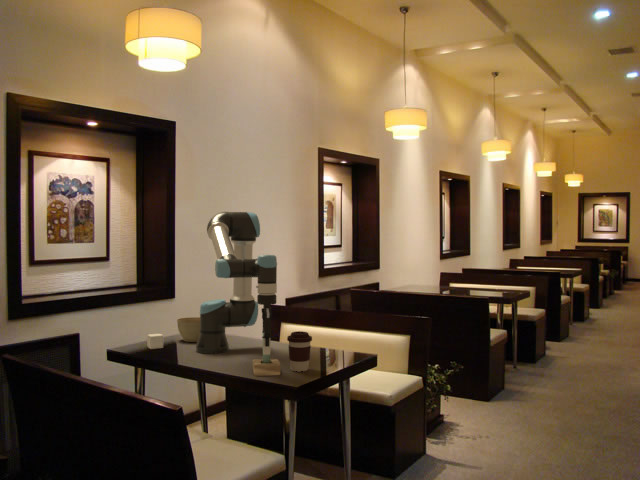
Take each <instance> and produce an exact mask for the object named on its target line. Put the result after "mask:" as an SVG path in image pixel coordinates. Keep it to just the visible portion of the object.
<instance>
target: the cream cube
mask: <svg viewBox="0 0 640 480" xmlns="http://www.w3.org/2000/svg"><path fill="white" fill-rule="evenodd" d="M146 340H147V343H146V344H147V345H146V346H147V348H148V349H150V350H156V349H163V348H164V335H163V334H161V333H150V334H147V336H146Z"/></svg>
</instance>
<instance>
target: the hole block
mask: <svg viewBox="0 0 640 480" xmlns="http://www.w3.org/2000/svg"><path fill="white" fill-rule="evenodd" d="M252 371H253V376H254V377H255V376H256V377H257V376H261V377H262V376H280V375H281V363H280V360H279V359H278V358H270V363H263V358H262V359H261V358H260V359H257V358H256V359H252Z"/></svg>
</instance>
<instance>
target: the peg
mask: <svg viewBox="0 0 640 480" xmlns="http://www.w3.org/2000/svg"><path fill="white" fill-rule="evenodd" d="M262 337H264V332H263V333H262ZM262 359H263V363H270V359H271V354H270V355H263V354H262Z"/></svg>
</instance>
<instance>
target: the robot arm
mask: <svg viewBox="0 0 640 480" xmlns="http://www.w3.org/2000/svg"><path fill="white" fill-rule="evenodd" d="M206 232H207V237H208V238H209V239H210V240H211V241H212V245H213V247H214V248H213V249H214V251H215V254H216V258H217V260H216V261H215V264H214V271H215V276H216V277H217V278H220V279H233V289H232V291H233V292H232V295H231V296H230V298H229V302H228V301H226V299H217V298H216V299H211V300H207V301H203V302H202V303H201V304H200V306H199V307H200V308H199V317H200V336H199V339H198V341H197V342H196V345H195V352H197V353H200V354H205V355H206V354H209V355H211V354H222V353H225V352H226V353H227V352H228V351H230V344H229V341H228V338H227V336H226V329H227V328H236V327H237V328H238V327H239V328H240V327H242V328H247V327H250V326H251V327H252V326H254V325H255V324H256V322H257V320H258V316H259V306H260V305H263V308H261V319H262V334H263V332H264V337H263V336H262V337H261V338H262V356H263V355H270V356H271V337H272V318H273V317H272V316H273V308H272V307H271V305H272V306H273V305H277V293H278V292H277V291H278V285H277V277H278V276H277V274H278V273H277V269H278V268H277V266H278V262H277V256H276V255H274V254H260V255H258V256H257V258H253V248H254V247H253V246H254V244H255V243H256V241H257V238H258V237H260V235H261V224H260V220H259V217H258V215H257V213H254V212H249V211H221V212H218V213H216V214H215V215H213V217H212V218H210V219H209V221H208V223H207V225H206ZM232 244H233V245H232ZM253 278H257V285H256V286H255V288H256V289H257V297H256V298H257V300H256V301H255V297H254V296H253V295H252V294H253V293H252V291H253V290H252V288H253V287H252V285H253V284H252V283H253Z"/></svg>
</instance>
